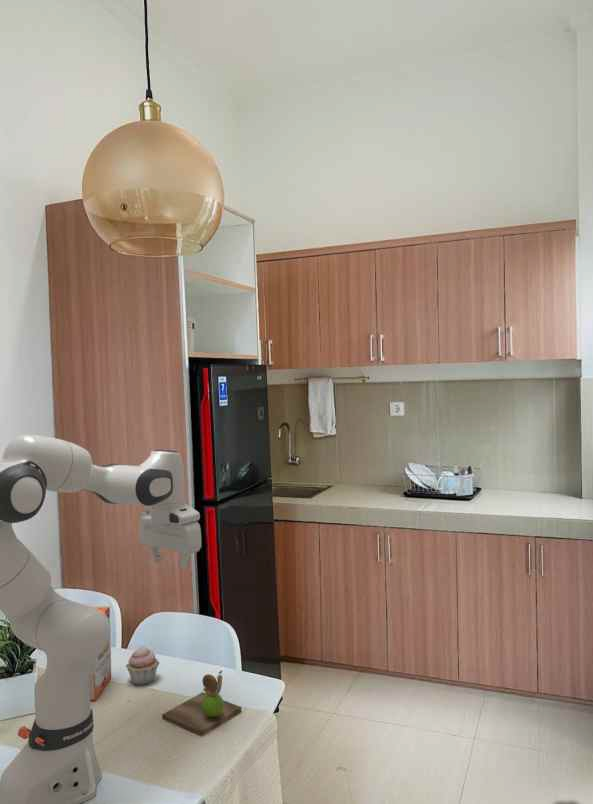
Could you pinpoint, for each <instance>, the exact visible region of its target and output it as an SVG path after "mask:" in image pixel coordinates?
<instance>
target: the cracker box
mask: <svg viewBox="0 0 593 804" xmlns="http://www.w3.org/2000/svg"><path fill="white" fill-rule="evenodd" d="M91 607H92V608H94V609H95V610H97V611H98V612H100V613H101V614H102V615H104V616H105V617H106V618H107V620H108V621H109V624H110V625H111V611H110V610H111V609H110V606H107V605H105V606H91ZM111 648H112V647H111V637H110V638H109V642H108V644H107V646H106V648H105V650H104V651H103V652H102V653H101V654H100V655H99V656H98V657H97V658H96V659H95V661H94V663H93V666H92V670H91V675H90V701H97V700H98V698H99V696H100V695H101V693H102V692H103V691H104V689H105V687H106V686H107V685H108V683H109V682H110V681H111V679H112V650H111Z"/></svg>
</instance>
